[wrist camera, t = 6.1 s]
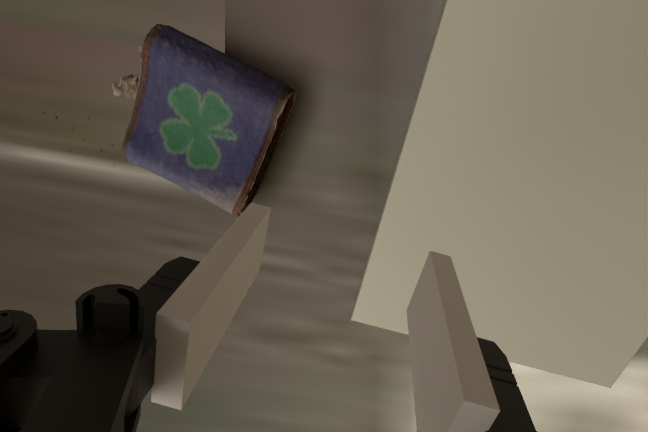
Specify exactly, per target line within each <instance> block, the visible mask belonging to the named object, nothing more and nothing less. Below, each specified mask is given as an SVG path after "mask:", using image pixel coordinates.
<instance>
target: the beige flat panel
mask: <svg viewBox="0 0 648 432" xmlns="http://www.w3.org/2000/svg"><path fill="white" fill-rule="evenodd" d="M430 251H433V252H437V253H440V254H444V255H448V256H451V259H452V262H453V265H454V268H455V272H456V275H457V278H458V281H459V284H460V287H461V290H462V293H463V296H464V300H465V303H466V306H467V309H468V312H469V315H470V318H471V321H472V324H473V327H474V331H475V334H476V337H479V338H482V339H486V340H490V341H493V342H495V343H496V344H497V346H498V347H499V348H500V349H501V351H502V352H503V353H504V354H505V355H506V357H507V359H508V361H510V362H514V363H518V364H521V365H525V366H529V367H533V368H537V369H541V370H544V371H548V372H552V373H556V374H560V375H564V376H567V377H571V378H575V379H579V380H583V381H586V382H590V383H594V384H598V385H602V386H606V387H609V388H611V387H612V385H613V384H614V382H615V381H616V380H617V378H618V377H619V375H620V374H621V373H622V371H623V370H624V369H625V367H626V366H627V364H628V363H629V362H630V360H631V359H632V358H633V356H634V355H635V353H636V352H637V351H638V349H639V348H640V347H641V345H642V344H643V342H644V341H645V340H646V338H647V337H648V0H445V1H444V4H443V8H442V11H441V14H440V18H439V21H438V24H437V28H436V31H435V35H434V38H433V41H432V45H431V48H430V51H429V55H428V58H427V61H426V65H425V68H424V71H423V75H422V78H421V81H420V85H419V88H418V92H417V95H416V98H415V102H414V105H413V108H412V112H411V115H410V118H409V122H408V125H407V128H406V132H405V135H404V138H403V142H402V145H401V149H400V152H399V155H398V159H397V162H396V165H395V169H394V172H393V175H392V179H391V182H390V185H389V189H388V192H387V195H386V199H385V202H384V205H383V209H382V212H381V216H380V219H379V222H378V226H377V229H376V232H375V236H374V239H373V242H372V246H371V249H370V252H369V256H368V259H367V262H366V266H365V269H364V273H363V276H362V279H361V283H360V286H359V289H358V293H357V296H356V299H355V303H354V306H353V309H352V316H351V320H353V321H357V322H361V323H365V324H369V325H372V326H376V327H380V328H384V329H388V330H392V331H395V332H399V333H403V334H407V335H409V332H408V321H407V308H408V305H409V303H410V300H411V297H412V295H413V292H414V290H415V287H416V285H417V282H418V280H419V277H420V275H421V272H422V270H423V267H424V265H425V262H426V260H427V257H428V254H429V252H430Z"/></svg>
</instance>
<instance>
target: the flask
mask: <svg viewBox="0 0 648 432" xmlns="http://www.w3.org/2000/svg"><path fill="white" fill-rule="evenodd" d="M138 52H140V53H141V62H140V64H141V71H140V73H139V74H137V75H136V76H135V77H134V76H133V74H131V73H128V74H127V75H125V74H124V73H123V76H122V77H121V79H120V87H119V88H118V87H117V85H116V82H114V83H113V85H112V87H113V94H114V95H115V96H117V97H119V96H121V95H123V94H124V95H126V97H128V98H131V99H133V100H134V101H135V102H134V106H133V111H132V113H131V117H130V120H129V125H128V127H127V130H126V133H125V137H124V139H123V141H122V145H121V155H122V156H124V158H125V159H127V160H128V161H130V162H131V163H132V164H134V165H137V166H139V167H142V168H144V169H146V170H149V171H151V172H153V173H155V174H157V175H159V176H161V177H163V178H165V179H167V180H169V181H171V182H173V183H175V184H177V185H179V186H180V187H182V188H184V189H185V190H187V191H189V192H191V193H193V194H195V195H198V196H200V197H202V198H204V199H205V200H207V201H209V202H211V203H213V204H215V205H217V206H219V207H220V208H222V209H224V210H225V211H227V212H229V213H231V214H232V215H235V216H240V214H239V211H241V212H242V213H243V211H244V210H245V209H246V208H247V207H248V206H249V204H250V203H252V200H253V198H254V197H255V195H256V194H257V193H258V190H259V188H260V184H261V180H263V178H264V176H265V174H266V171H267V168H268V166H269V164H270V162H271V159H272V154H273V151H274V150H275V149H276V147H277V144H278V143H279V141H280V139H281V136H282V134H283V131H284V128H285V126H286V123H287V121H288V118H289V115H290V113H291V111H292V108H293V106H294V103H295V97H296V95H297V91H294V90H293V89H291V88H290V87H289V86H287V85H285V84H283V83H282V82H280V81H278V80H276V79H275V78H273V77H271V76H269V75H268V74H265V73H263V72H261V71H259V70H257V69H254V68H253V67H251V66H249V65H247V64H244V63H242V62H240V61H238V60H236V59H235V58H233V57H231V56H229V55H227V54H225V53H222V52H220V51H218V50H216V49H214V48H212V47H211V46H209V45H207V44H205V43H203V42H201V41H199V40H197V39H195V38H193V37H191V36H188V35H186V34H184V33H182V32H180V31H178V30H176V29H175V28H173V27H171V26H166V25H161V24H156V25H155V26H154V27H153V28H151V29H150V31H149V33H148V34H147V35H146V37H145V40H144V43H143V45H141V46H140V47H139V48H138Z"/></svg>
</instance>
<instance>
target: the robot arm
mask: <svg viewBox="0 0 648 432" xmlns="http://www.w3.org/2000/svg"><path fill="white" fill-rule="evenodd" d="M270 210H271V208H270V207H266V206H262V205H258V204H255V203H250V204H249V206H248V207H247V208H246V209H245V210H244V211H243V213H242V214H241V215H240V216H239V217H238V218H237V220H236V221H235V222H234V223H233V224H232V225H231V227H230V228H229V229H228V230H227V231H226V233H225V234H224V235H223V236H222V237H221V238H220V240H219V241H218V242H217V243H216V244H215V245H214V247H213V248H212V249H211V250H210V251H209V252H208V254H207V255H206V256H205V257H204V258H203V259H202V261H201V262H199V261H195V260H192V259H188V258H184V257H178V258H176V259H174V260H172V261H169V262H167V263H165V264H164V265H163V266H162V267H161V268H160V269H159V270H158V271H157V272H156V273H155V275H153V276H152V277H151V278H150V279H149V280H148V281H147V283H146V284H144V285H143V286H142V287H141V288H140V289H139V290H137V289H135V288H133V287H131V286H126V285H121V284H113V285H104V286H100V287H95V288H93V289H91V290H89V291H87V292H85V293H83V294H82V295H81V296H80V297H79V298H78V299H77V300H76V320H77V330H37V322H36V320H35V319H34V318H33V316H32V315H30V314H28V313H26V312H23V311H17V310H2V311H0V432H136V429H137V425H138V422H139V418H140V411H141V402H142V400H143V399H144V397H145V396H146V395H147V393H148V392H149V390H150V389H151V387H152V396H151V402H154V403H158V404H161V405H165V406H168V407H171V408H175V409H178V410H181V409H182V408H183V406H184V404H185V402H186V400H187V399H188V397H189V395H190V393H191V391H192V390H193V388H194V386H195V384H196V383H197V381H198V379H199V377H200V375H201V374H202V372H203V370H204V368H205V366H206V365H207V363H208V361H209V359H210V357H211V356H212V354H213V352H214V350H215V348H216V347H217V345H218V343H219V341H220V339H221V338H222V336H223V334H224V332H225V331H226V329H227V327H228V325H229V323H230V322H231V320H232V318H233V316H234V314H235V313H236V311H237V309H238V307H239V305H240V304H241V302H242V300H243V298H244V296H245V295H246V293H247V291H248V289H249V287H250V286H251V284H252V282H253V280H254V279H255V277H256V275H257V273H258V271H259V269H260V264H261V259H262V253H263V248H264V243H265V237H266V232H267V226H268V221H269V216H270ZM407 321H408V332H409V344H410V355H411V366H412V378H413V389H414V400H415V412H416V423H417V432H537V431H536V430H535V427H534V425H533V422H532V420H531V417H530V415H529V412H528V410H527V407H526V405H525V402H524V400H523V397H522V395H521V392H520V390H519V387H518V386H517V382H516V379H515V377H514V374H512V369H511V367H510V364H509V362H508V359H507V357H506V355H505V354H504V353H503V352H502V351H501V349H500V348H499V347H498V346H497V344H496V343H495V342H493V341H490V340H486V339H482V338H479V337H476V334H475V331H474V327H473V324H472V321H471V318H470V315H469V312H468V309H467V306H466V303H465V300H464V296H463V293H462V290H461V287H460V284H459V281H458V278H457V275H456V272H455V268H454V265H453V262H452V259H451V256H448V255H444V254H440V253H437V252H433V251H430V252H429V254H428V257H427V260H426V262H425V265H424V267H423V270H422V272H421V275H420V277H419V280H418V282H417V285H416V287H415V290H414V292H413V295H412V297H411V300H410V303H409V305H408V308H407Z"/></svg>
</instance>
